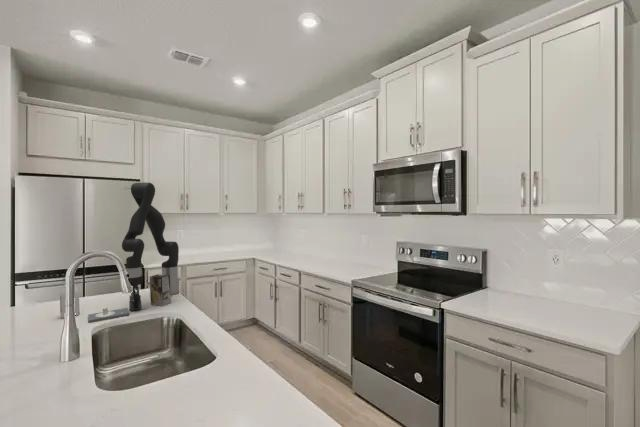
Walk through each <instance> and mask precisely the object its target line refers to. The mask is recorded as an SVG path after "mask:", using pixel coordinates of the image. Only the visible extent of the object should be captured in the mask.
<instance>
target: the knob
mask: <svg viewBox="0 0 640 427" xmlns="http://www.w3.org/2000/svg"><path fill="white" fill-rule="evenodd" d="M135 299H137V297H135ZM128 303H129V304H128V306H129V308H128V310H130V311H131V312H132V311H136V310H142V308H143V307H142V296H141V294H139V301H138V308H136V309H134V305H133V298H132V295H131V294H130V295H129V300H128ZM130 311H129V312H130Z"/></svg>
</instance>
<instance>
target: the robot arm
mask: <svg viewBox="0 0 640 427" xmlns="http://www.w3.org/2000/svg"><path fill="white" fill-rule="evenodd" d="M130 193H131V195H132V197H133V199H134V202H136V204H137V206H138V208H137V209H136V211H134V213H133V214H132V216H131V219H130V221H129V227H128V230H127V232H126V234H125V235H124V238H123V240H122V241H121V242H122V243H121V249H122V250H123V251H124V252H126V253H132V255H131V256H128V257H126V260H125V264H126V266H125V267H126V268H125V271H126V270H127V272H128V274H129V277H130V279H131V282H132V286H133V292H132V293H131V292H130V296H131V295H132V298H133V305H134V309H136V308H138V301H139V295H140V287H139V285H142V284H143V269H142V257H143V253H144V250H145V242H144V241H143V239H141V238H137V237H138V236H142V235H143V234H144V229H145V225H146V224H147V226H148V228H149V231H150V233H151V235H152V238H153V240H154V243H155V246H156V250H157V251H158V254H159V255H160V256H162V257H168V259H167V260H165V261H163V262H162V263H161V275H170V296H173V295H176V294H179V293H180V279H179V271H178V270H179V267H178V265H179V254H180V253H179V252H180V250H179V244H178V242H177V241H166V240H165V237H164V232H165V228H166V222H165V219H164V217H163V215H162V213H161V211H159V210H158V209H157V208H156V207H155V206H153V205H152V203H153V200H154V198H155V194H156V187H155V185H154V184H153V183H151V182H147V181H146V182H134V183H132V184H131V186H130ZM135 297H137V299H135Z"/></svg>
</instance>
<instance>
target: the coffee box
mask: <svg viewBox="0 0 640 427" xmlns="http://www.w3.org/2000/svg"><path fill="white" fill-rule="evenodd" d="M149 290H150V291H149V293H150V294H149V296H150V305H151V306H162V307H163V306H166V305H168V304H170V303H172V302H171V299H172V298H171V297H172V295H170V275H162V274H154V275H152V276H149Z"/></svg>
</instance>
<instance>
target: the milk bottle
mask: <svg viewBox="0 0 640 427" xmlns="http://www.w3.org/2000/svg"><path fill="white" fill-rule="evenodd" d="M62 281H63V286H62V289H61V290H60V293H59V310H60V312H59V313H60V317H61V318H62V319H65V318H64V313H65V277H63V279H62ZM80 310H81V309H80V292H79V290H78V287H77V286H76V285H75V313H76V316H75V317H77V316H79V315H80Z"/></svg>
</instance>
